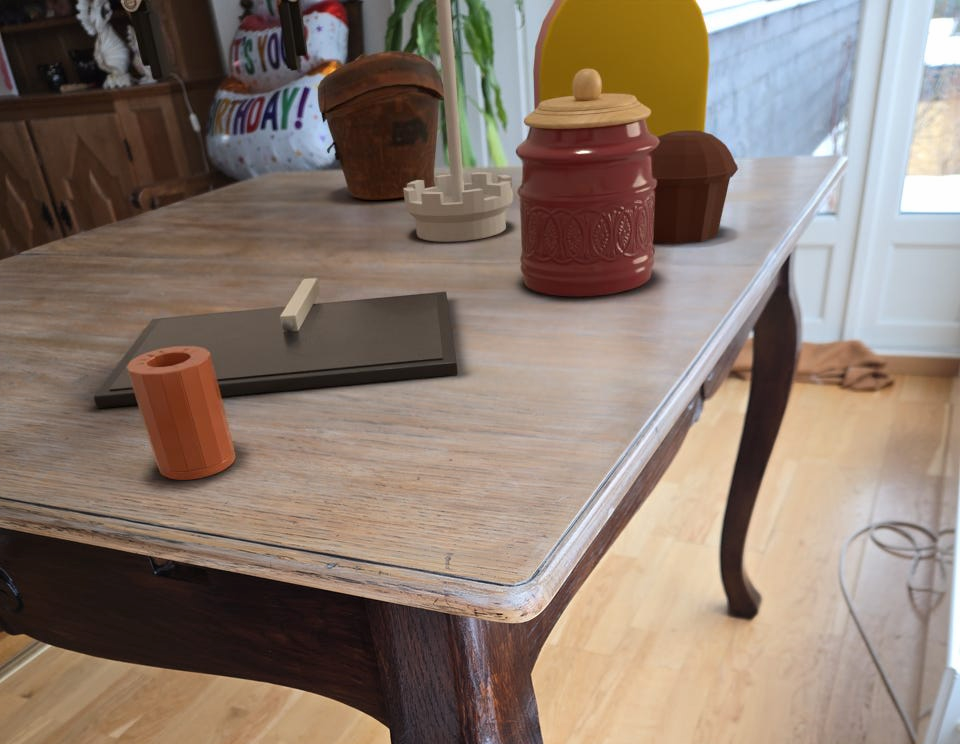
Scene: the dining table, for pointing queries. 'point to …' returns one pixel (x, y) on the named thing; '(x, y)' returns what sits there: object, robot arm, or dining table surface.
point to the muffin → (690, 186)
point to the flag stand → (456, 173)
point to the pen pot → (182, 411)
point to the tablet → (305, 346)
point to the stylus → (300, 305)
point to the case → (383, 121)
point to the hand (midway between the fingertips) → (228, 73)
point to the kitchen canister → (587, 193)
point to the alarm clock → (629, 56)
